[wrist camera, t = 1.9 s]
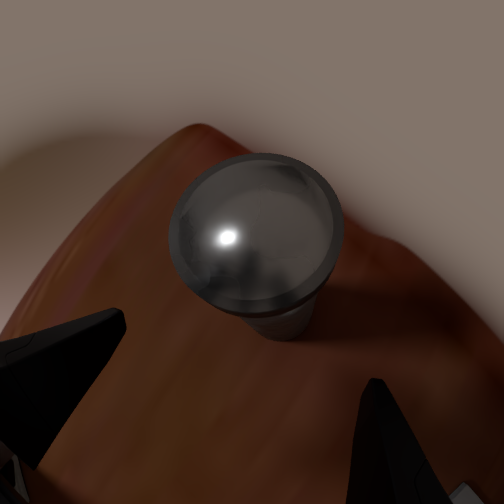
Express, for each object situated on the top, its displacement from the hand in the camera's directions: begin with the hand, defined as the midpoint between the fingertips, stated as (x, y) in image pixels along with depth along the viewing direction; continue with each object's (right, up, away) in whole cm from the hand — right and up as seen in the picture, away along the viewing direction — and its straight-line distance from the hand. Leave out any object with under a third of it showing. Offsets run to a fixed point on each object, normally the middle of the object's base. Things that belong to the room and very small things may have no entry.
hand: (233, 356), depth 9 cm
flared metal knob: (+3, -1, +11) cm, 11 cm away
